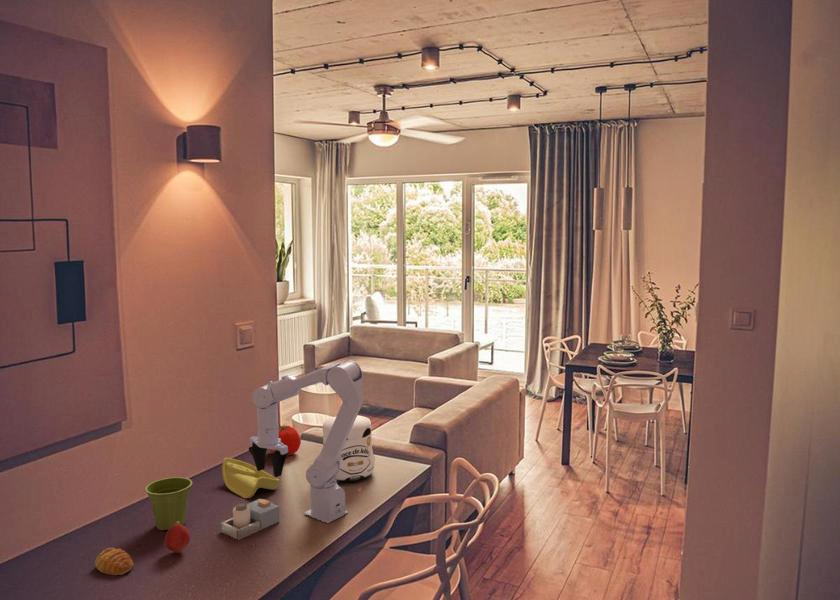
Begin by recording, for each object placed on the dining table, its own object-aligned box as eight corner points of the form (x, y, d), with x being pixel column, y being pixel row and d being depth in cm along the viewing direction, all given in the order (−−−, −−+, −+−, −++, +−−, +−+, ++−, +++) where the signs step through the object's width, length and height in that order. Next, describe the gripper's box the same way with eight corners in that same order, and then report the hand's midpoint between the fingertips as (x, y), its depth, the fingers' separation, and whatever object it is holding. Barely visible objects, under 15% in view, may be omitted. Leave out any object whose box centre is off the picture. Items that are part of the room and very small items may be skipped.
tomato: (275, 447, 231) (275, 420, 230) (306, 451, 227) (306, 423, 226) (258, 458, 221) (257, 429, 220) (290, 462, 217) (290, 433, 216)
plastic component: (282, 481, 195) (258, 476, 187) (273, 504, 193) (248, 501, 186) (245, 461, 207) (221, 456, 200) (236, 483, 206) (211, 479, 198)
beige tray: (262, 529, 168) (262, 520, 168) (238, 540, 162) (238, 531, 162) (244, 521, 173) (244, 512, 172) (220, 531, 167) (220, 522, 166)
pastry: (141, 567, 150) (140, 552, 149) (115, 581, 144) (114, 565, 143) (117, 557, 154) (116, 542, 154) (91, 570, 149) (90, 554, 148)
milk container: (354, 490, 193) (353, 433, 191) (310, 479, 201) (308, 424, 199) (385, 471, 208) (384, 418, 206) (342, 462, 216) (341, 411, 214)
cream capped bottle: (253, 526, 170) (252, 502, 169) (247, 534, 165) (246, 509, 165) (237, 526, 170) (236, 501, 169) (231, 533, 166) (230, 509, 165)
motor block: (279, 521, 172) (278, 503, 172) (261, 530, 167) (260, 511, 167) (260, 513, 177) (260, 495, 176) (242, 521, 172) (242, 503, 172)
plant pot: (203, 518, 175) (201, 478, 173) (175, 538, 163) (173, 496, 162) (166, 513, 178) (164, 474, 177) (137, 532, 167) (134, 491, 165)
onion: (164, 560, 152) (162, 528, 152) (166, 548, 158) (165, 518, 157) (189, 556, 154) (188, 525, 153) (191, 545, 160) (190, 515, 159)
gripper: (295, 428, 178) (296, 474, 180) (262, 419, 187) (264, 463, 189) (275, 434, 173) (277, 482, 174) (243, 424, 182) (244, 470, 183)
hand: (269, 472), depth 181 cm, fingers open, 7 cm apart
